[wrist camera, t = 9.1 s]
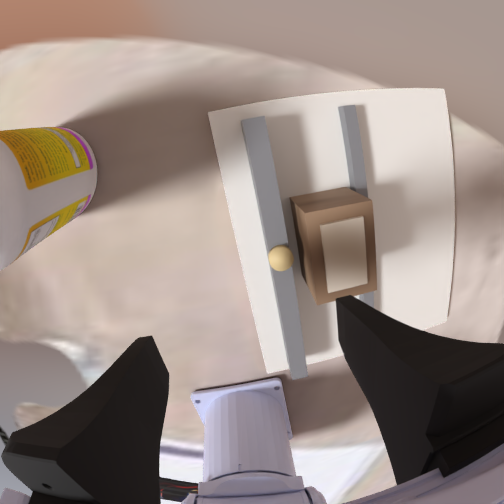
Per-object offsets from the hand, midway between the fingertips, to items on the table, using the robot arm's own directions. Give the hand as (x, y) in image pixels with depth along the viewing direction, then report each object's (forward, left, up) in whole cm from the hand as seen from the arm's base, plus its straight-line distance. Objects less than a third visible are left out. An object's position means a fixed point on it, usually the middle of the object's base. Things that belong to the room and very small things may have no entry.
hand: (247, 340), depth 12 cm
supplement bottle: (+8, +11, -11) cm, 17 cm away
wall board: (-1, -8, -10) cm, 13 cm away
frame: (0, -6, -10) cm, 11 cm away
